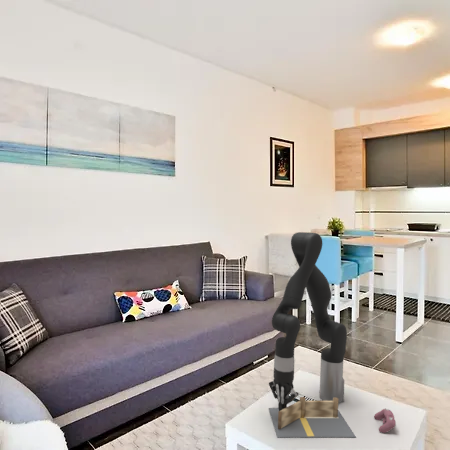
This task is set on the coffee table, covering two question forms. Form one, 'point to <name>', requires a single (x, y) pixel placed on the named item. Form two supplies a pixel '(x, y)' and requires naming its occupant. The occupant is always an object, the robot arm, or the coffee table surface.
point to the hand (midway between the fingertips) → (282, 411)
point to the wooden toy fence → (319, 408)
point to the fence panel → (289, 414)
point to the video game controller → (386, 420)
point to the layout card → (313, 427)
